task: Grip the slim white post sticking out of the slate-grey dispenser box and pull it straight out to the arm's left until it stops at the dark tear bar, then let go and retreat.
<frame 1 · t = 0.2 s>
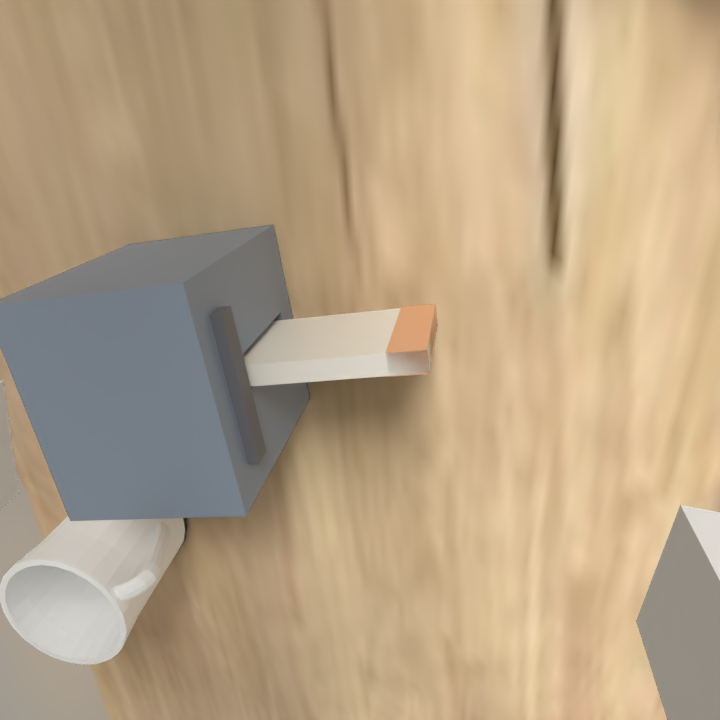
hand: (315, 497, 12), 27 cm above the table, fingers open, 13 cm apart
slim white post: (273, 349, 34), point 6 cm above the table, slide at 0.0 cm
dispenser: (221, 323, 41), on the table
mug: (151, 511, 49), on the table
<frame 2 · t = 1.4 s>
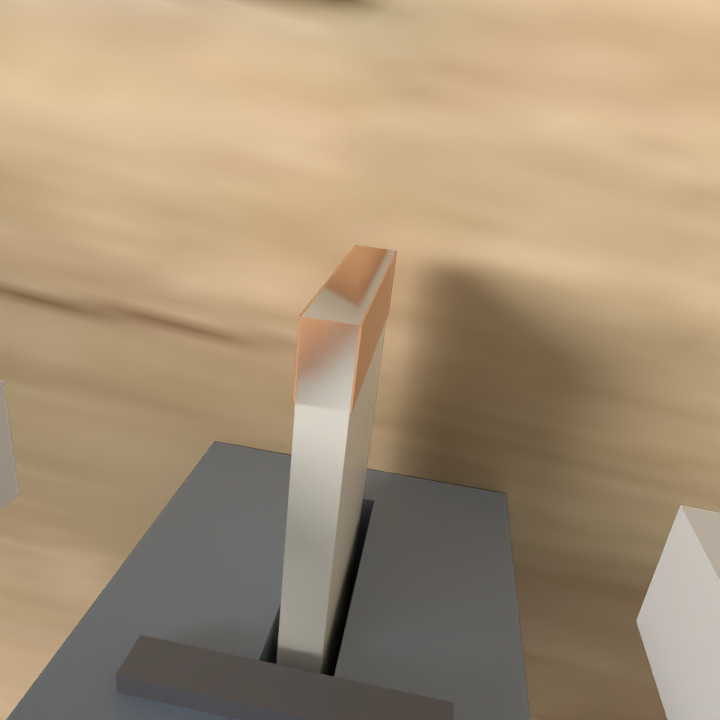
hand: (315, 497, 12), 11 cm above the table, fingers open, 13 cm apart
slim white post: (327, 554, 19), point 6 cm above the table, slide at 0.0 cm
dispenser: (344, 563, 27), on the table
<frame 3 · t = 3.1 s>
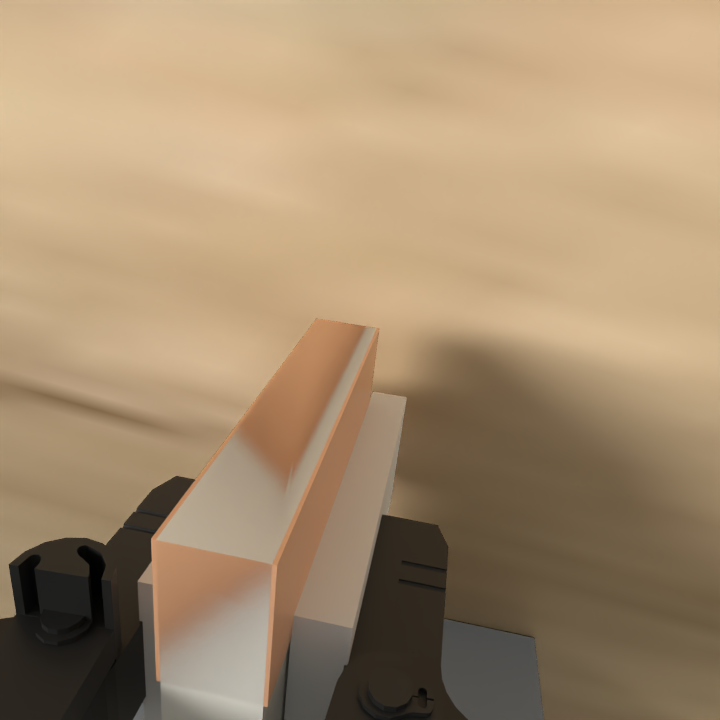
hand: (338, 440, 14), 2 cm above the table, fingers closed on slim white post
dispenser: (318, 709, 20), on the table
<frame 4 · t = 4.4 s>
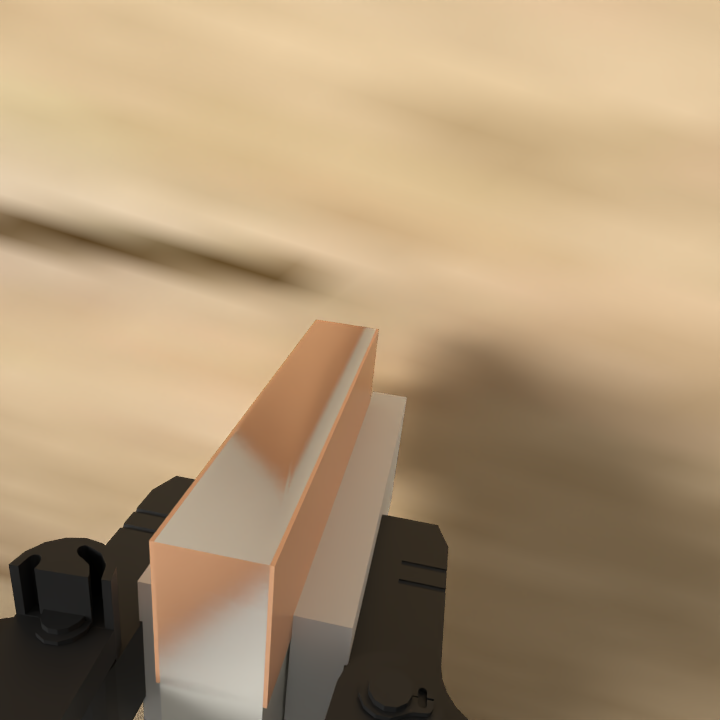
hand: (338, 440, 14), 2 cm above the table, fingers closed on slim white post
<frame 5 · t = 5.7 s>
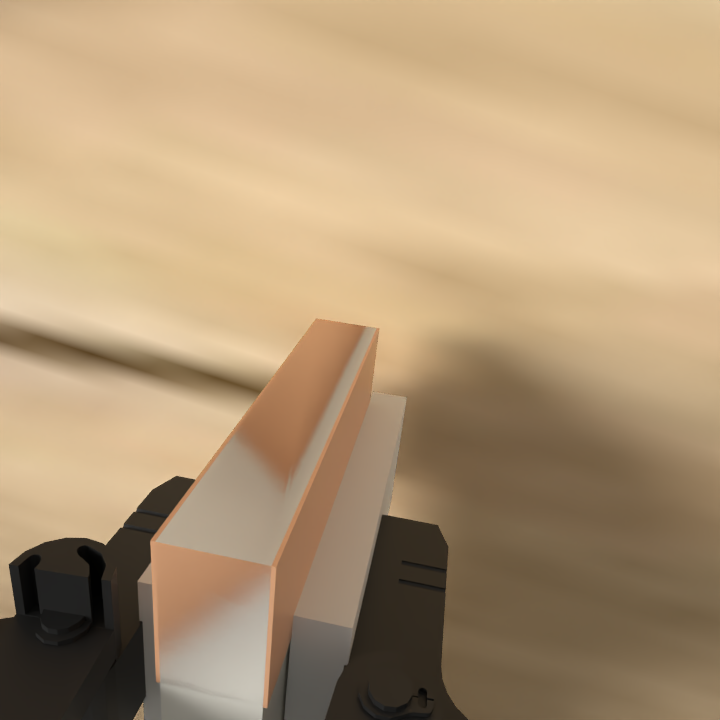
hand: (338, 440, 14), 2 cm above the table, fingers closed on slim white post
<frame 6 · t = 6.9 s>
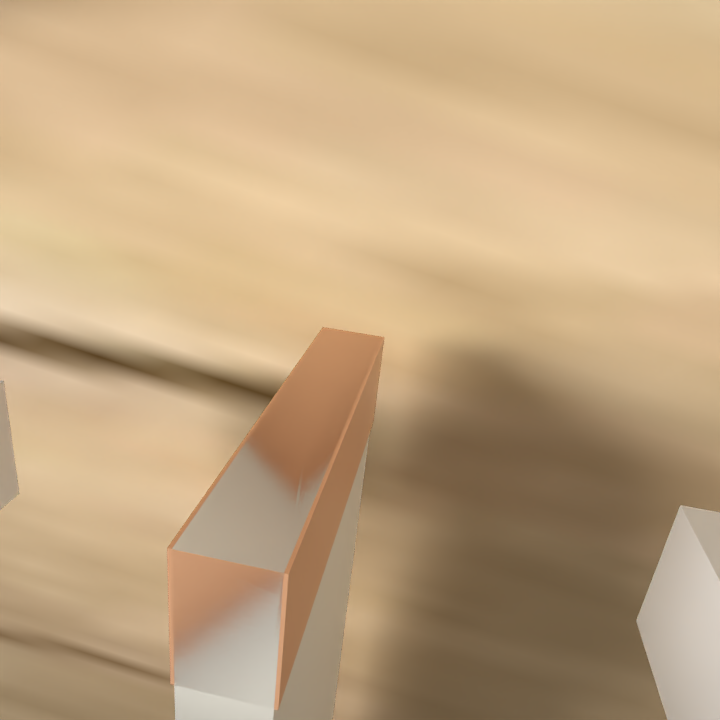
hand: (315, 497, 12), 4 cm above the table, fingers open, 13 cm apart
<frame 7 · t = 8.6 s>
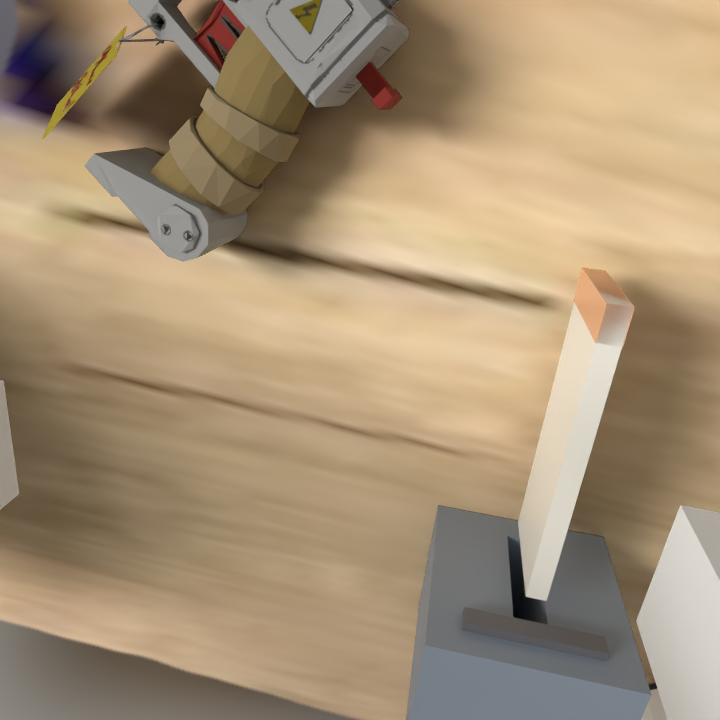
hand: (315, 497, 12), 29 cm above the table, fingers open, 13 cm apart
slim white post: (564, 435, 35), point 6 cm above the table, slide at 10.1 cm
dispenser: (506, 573, 47), on the table
mug: (669, 706, 49), on the table
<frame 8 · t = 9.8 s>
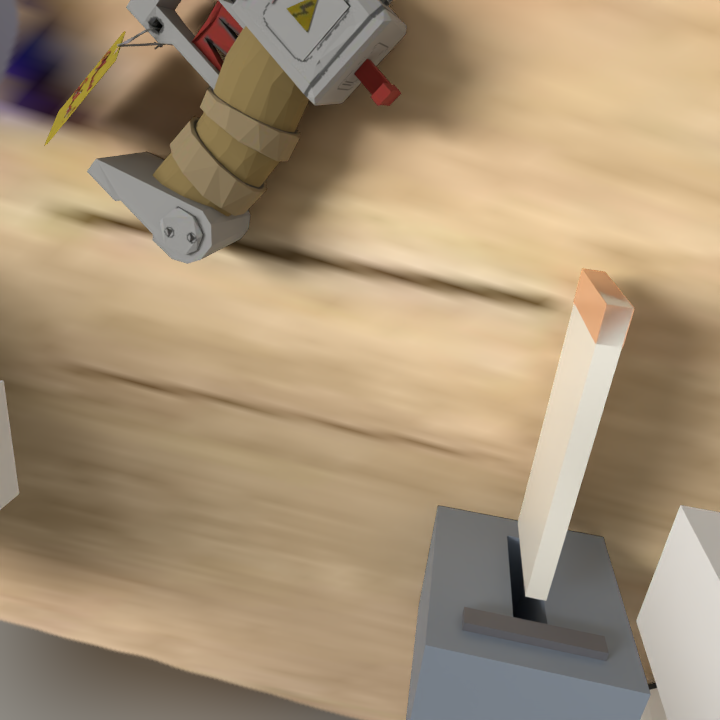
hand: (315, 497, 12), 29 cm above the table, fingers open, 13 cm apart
slim white post: (564, 436, 35), point 6 cm above the table, slide at 10.1 cm
dispenser: (505, 573, 47), on the table
mug: (668, 706, 49), on the table
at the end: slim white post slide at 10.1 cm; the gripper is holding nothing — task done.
